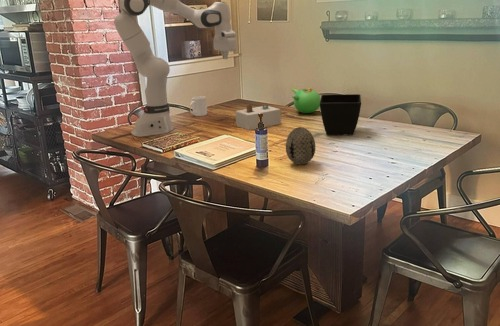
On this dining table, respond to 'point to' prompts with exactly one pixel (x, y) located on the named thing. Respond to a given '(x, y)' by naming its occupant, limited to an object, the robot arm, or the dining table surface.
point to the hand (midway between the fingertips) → (225, 59)
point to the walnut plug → (249, 108)
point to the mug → (199, 106)
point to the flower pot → (340, 113)
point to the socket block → (251, 119)
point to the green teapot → (306, 100)
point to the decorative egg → (300, 146)
